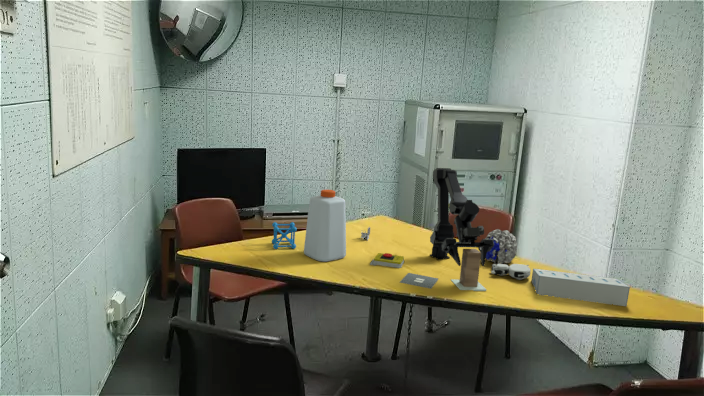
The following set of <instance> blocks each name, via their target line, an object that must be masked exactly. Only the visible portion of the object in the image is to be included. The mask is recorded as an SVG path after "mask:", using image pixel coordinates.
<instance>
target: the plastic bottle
mask: <svg viewBox="0 0 704 396" xmlns="http://www.w3.org/2000/svg"><path fill="white" fill-rule="evenodd" d="M346 209H347V207H346V200H345V199H344V198H343V197H340V196H336V191H335V190H333V189H321V190H320V195H319V194H318V195H313V196H311V197H310V198H309V204H308V212H307V221H306V229H305V237H304V238H305V239H304V247H303V253H304V255H305V256H306V257H309V258H311V259H313V260H315V261H318V262H323V263H324V262H325V263H327V262H332V261H336V260H341V259H344V258H345V257H346V256H347V229H346V228H347V226H346V225H347V224H346V223H347V220H346Z"/></svg>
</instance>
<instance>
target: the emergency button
mask: <svg viewBox="0 0 704 396" xmlns="http://www.w3.org/2000/svg"><path fill="white" fill-rule="evenodd" d="M404 264H405V256H404V255H402V256H401V255H396V254H392V253H387V252H385V253H383V252H379V253H377V254H376V255H375V257H374V258H373V259H372V260H371V262H370V263H369V265H370V266H382V267H391V268H394V269H395V268H397V269H401V268H402V267H403V265H404Z"/></svg>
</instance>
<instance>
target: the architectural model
mask: <svg viewBox="0 0 704 396" xmlns="http://www.w3.org/2000/svg"><path fill="white" fill-rule="evenodd" d="M370 235H371V227H370V226H368V228H367V231H366V230H361V232H360V239H361V238H363V239H362V240H366V241H369V240H368V239H370ZM364 238H365V239H364Z"/></svg>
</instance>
